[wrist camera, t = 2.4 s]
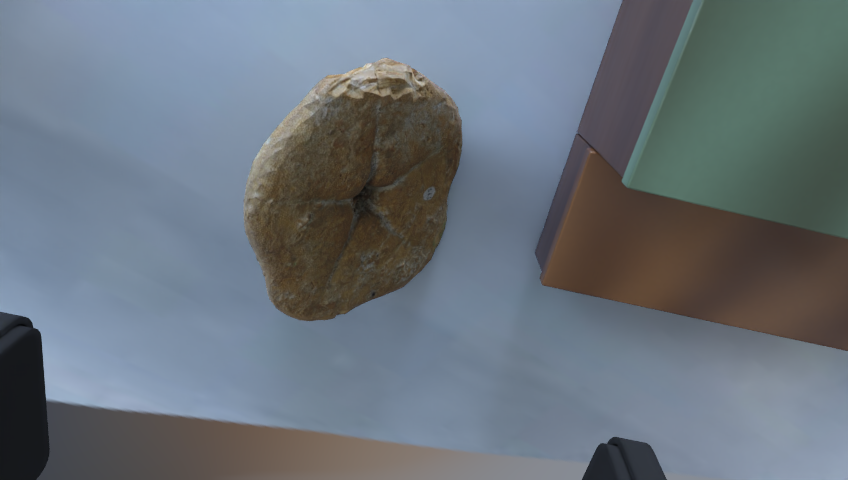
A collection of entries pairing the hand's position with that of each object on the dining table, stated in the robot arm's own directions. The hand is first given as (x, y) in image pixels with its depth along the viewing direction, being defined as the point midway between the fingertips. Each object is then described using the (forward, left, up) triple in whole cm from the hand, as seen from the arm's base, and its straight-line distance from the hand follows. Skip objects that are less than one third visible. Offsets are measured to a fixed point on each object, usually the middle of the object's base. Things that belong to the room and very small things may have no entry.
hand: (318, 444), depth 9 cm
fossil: (-1, 0, -15) cm, 15 cm away
